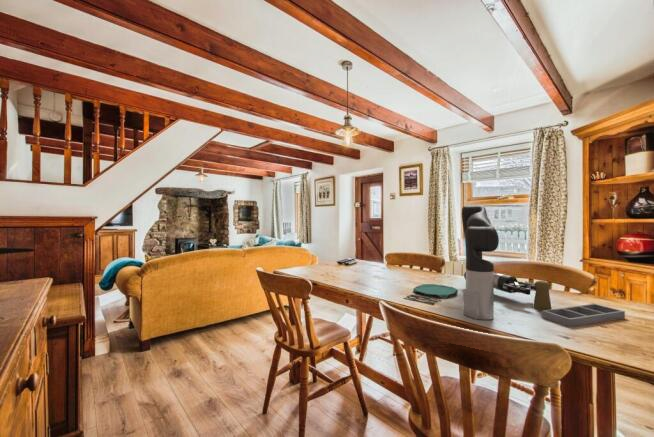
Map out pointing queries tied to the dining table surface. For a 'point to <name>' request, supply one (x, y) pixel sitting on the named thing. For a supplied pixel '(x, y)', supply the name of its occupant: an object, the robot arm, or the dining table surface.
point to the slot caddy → (583, 314)
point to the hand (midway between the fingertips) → (537, 291)
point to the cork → (542, 296)
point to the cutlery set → (432, 292)
